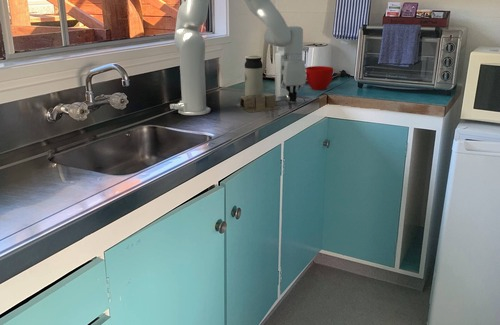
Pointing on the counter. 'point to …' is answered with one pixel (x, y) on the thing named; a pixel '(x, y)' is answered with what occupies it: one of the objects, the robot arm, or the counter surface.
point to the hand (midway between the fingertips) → (292, 101)
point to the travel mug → (253, 75)
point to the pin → (283, 98)
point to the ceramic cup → (319, 77)
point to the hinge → (258, 102)
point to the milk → (279, 73)
